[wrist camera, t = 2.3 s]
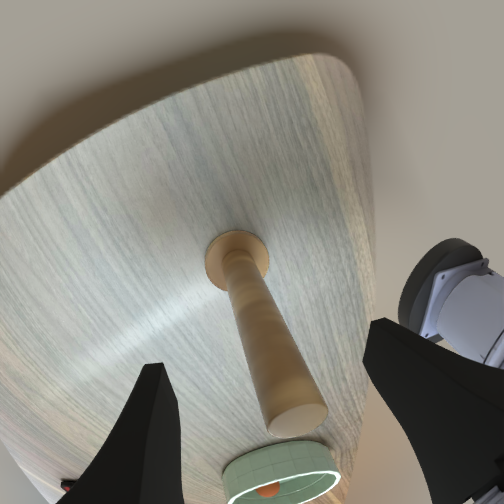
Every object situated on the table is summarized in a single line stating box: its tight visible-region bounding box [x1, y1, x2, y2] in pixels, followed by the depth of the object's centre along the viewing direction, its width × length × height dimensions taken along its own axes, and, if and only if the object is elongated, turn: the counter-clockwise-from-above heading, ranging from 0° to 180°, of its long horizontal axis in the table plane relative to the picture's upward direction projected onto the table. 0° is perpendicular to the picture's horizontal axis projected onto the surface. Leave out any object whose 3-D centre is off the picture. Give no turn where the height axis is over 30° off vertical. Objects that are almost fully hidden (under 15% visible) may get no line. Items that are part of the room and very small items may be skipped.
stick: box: [205, 230, 328, 438], centre depth 12 cm, size 4×4×11 cm
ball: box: [255, 481, 280, 497], centre depth 27 cm, size 3×3×3 cm
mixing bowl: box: [222, 441, 341, 504], centre depth 27 cm, size 13×13×4 cm
